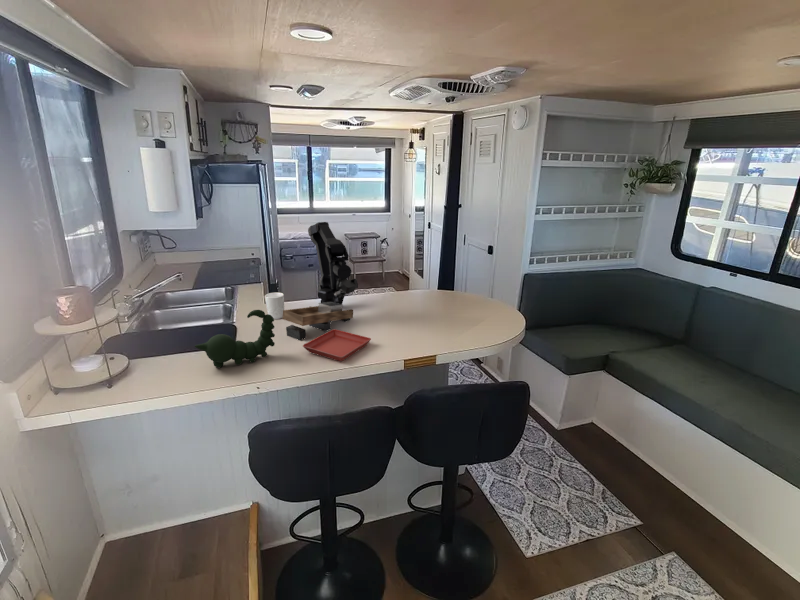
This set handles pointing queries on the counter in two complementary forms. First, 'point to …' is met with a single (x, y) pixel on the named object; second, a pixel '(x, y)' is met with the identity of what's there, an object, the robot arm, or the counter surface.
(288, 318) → the wooden tray
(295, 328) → the stand
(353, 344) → the plant saucer
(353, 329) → the counter surface
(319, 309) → the steel block
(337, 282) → the robot arm
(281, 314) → the white cup
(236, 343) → the toy figurine
